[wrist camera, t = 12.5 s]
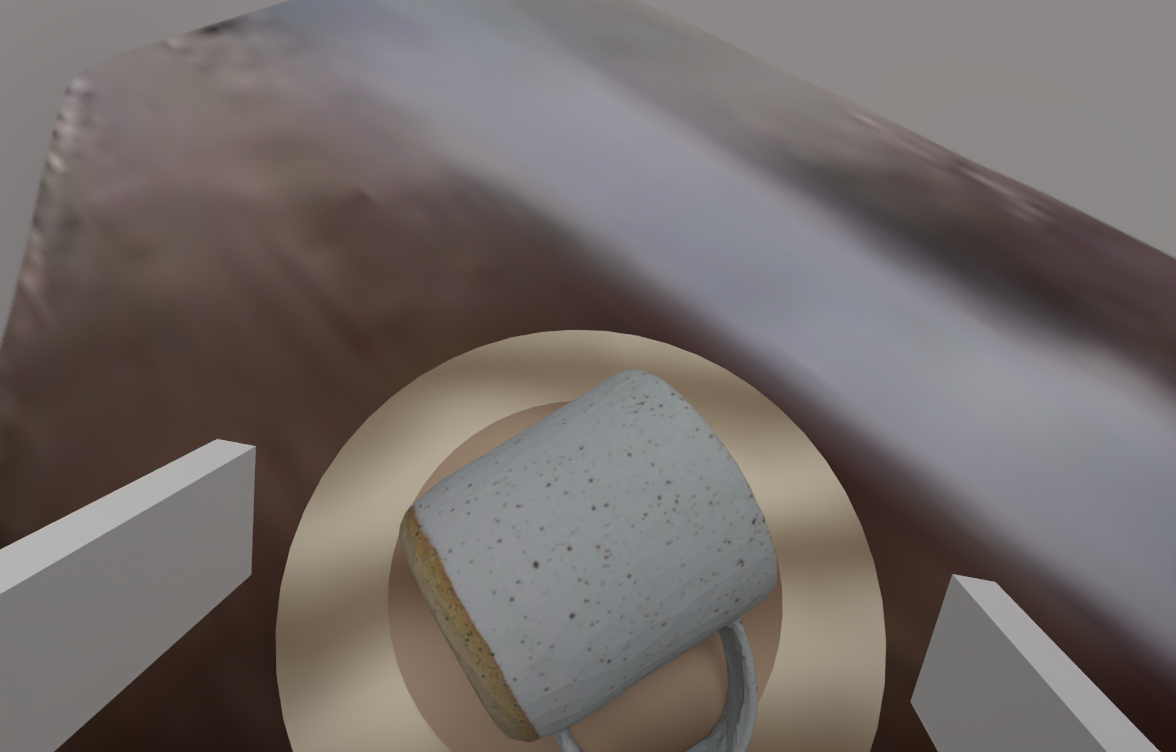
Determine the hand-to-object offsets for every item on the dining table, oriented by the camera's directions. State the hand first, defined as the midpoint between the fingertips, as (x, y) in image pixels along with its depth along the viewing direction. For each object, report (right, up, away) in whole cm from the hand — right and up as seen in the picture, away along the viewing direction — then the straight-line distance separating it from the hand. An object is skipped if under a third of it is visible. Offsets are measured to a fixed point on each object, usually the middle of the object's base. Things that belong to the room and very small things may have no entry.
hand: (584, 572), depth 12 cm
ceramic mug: (+1, -4, +9) cm, 10 cm away
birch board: (0, -4, +11) cm, 12 cm away
